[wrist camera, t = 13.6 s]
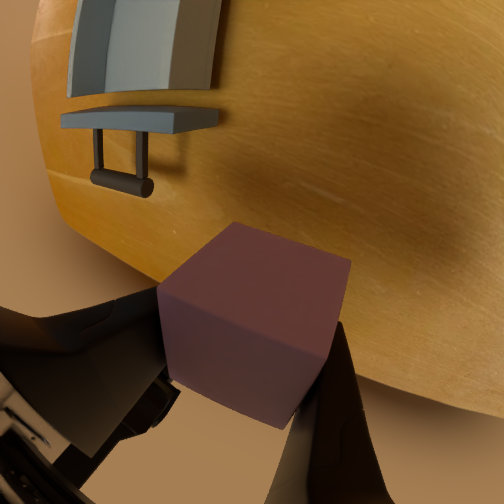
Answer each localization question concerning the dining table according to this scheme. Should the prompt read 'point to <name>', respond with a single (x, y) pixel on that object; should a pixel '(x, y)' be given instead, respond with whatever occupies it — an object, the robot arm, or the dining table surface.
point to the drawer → (140, 73)
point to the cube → (252, 320)
